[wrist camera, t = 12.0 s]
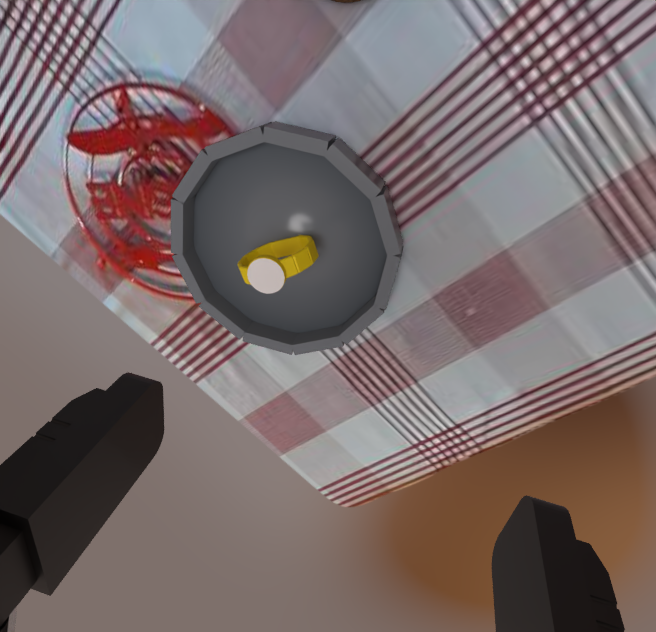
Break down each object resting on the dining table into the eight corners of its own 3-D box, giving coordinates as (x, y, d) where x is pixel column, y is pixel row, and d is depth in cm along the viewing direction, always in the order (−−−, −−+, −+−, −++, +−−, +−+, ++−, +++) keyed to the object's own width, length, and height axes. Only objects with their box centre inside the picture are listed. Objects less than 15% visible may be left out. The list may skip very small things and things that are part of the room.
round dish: (428, 157, 32) (427, 165, 30) (370, 359, 42) (366, 375, 40) (187, 100, 34) (170, 104, 32) (184, 307, 43) (171, 321, 41)
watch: (315, 221, 36) (301, 247, 31) (326, 253, 37) (314, 284, 32) (246, 239, 38) (221, 267, 32) (258, 270, 39) (236, 301, 34)
